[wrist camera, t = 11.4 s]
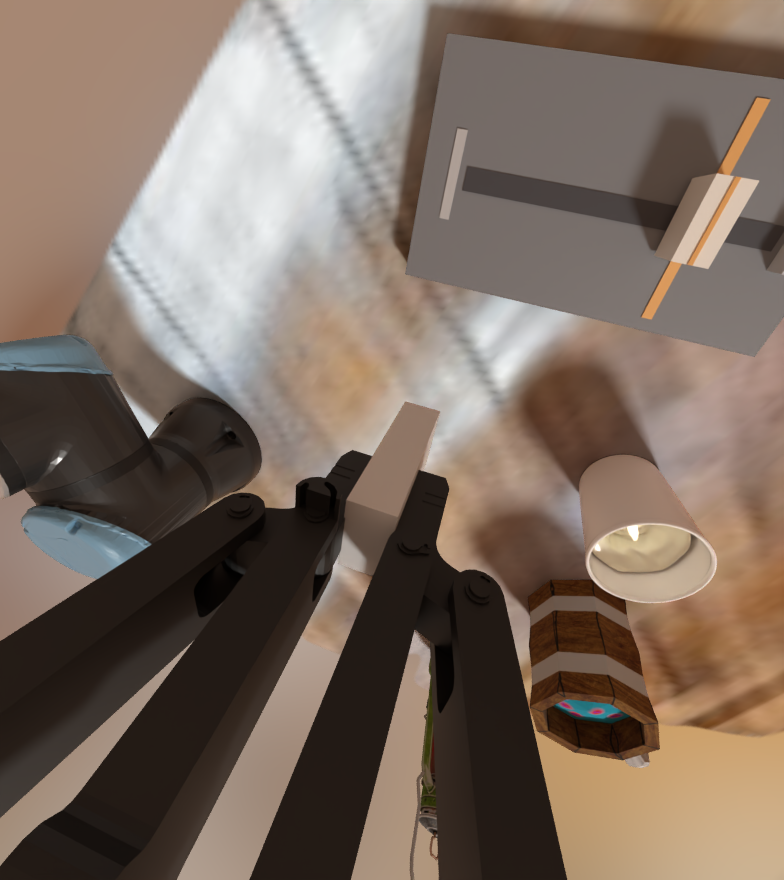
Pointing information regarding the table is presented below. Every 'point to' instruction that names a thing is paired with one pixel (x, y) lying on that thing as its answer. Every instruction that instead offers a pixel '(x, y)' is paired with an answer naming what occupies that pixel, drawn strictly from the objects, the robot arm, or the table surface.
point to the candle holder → (640, 533)
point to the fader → (705, 218)
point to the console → (601, 188)
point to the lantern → (426, 783)
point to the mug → (588, 674)
